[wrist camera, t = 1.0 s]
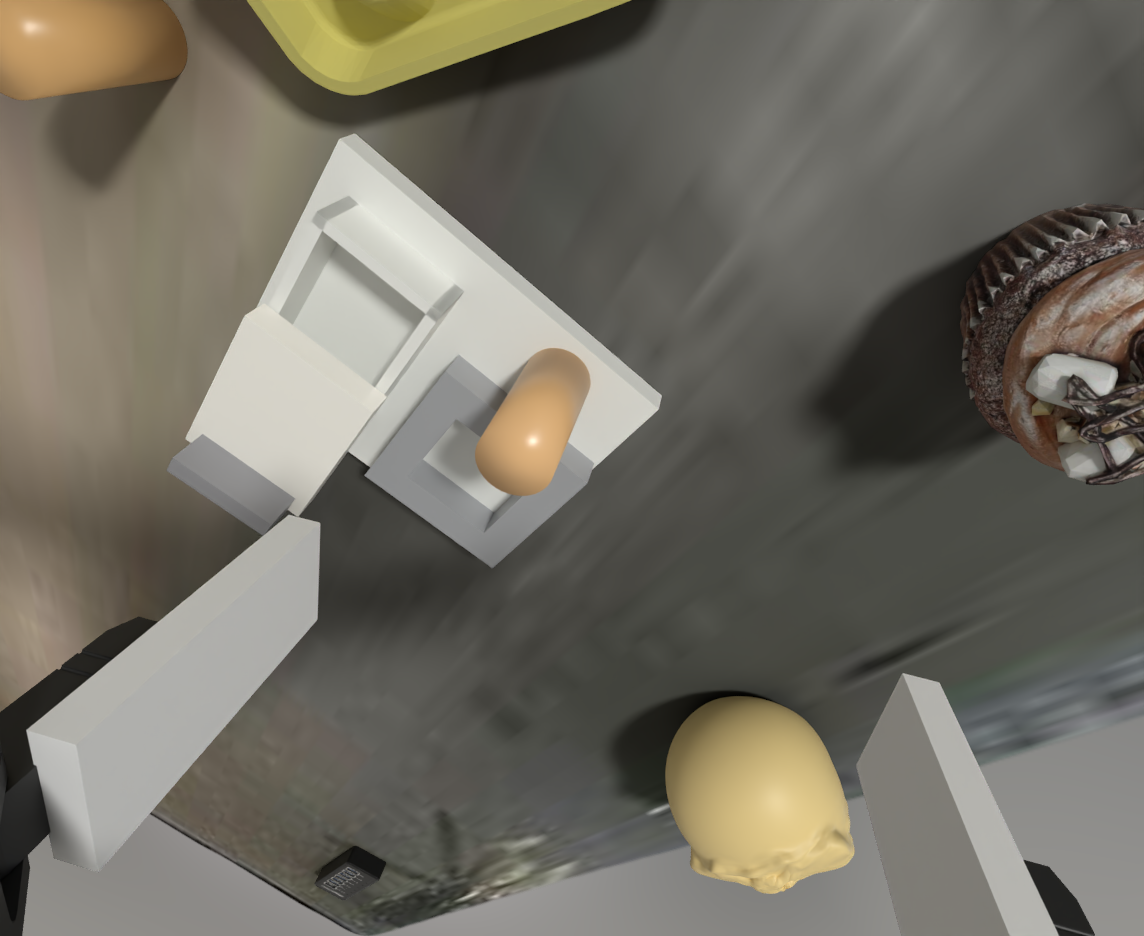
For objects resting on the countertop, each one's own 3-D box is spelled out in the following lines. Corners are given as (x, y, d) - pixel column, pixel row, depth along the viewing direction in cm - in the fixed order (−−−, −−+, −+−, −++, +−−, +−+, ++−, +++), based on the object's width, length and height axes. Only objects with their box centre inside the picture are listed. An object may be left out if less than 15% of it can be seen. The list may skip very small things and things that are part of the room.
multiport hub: (388, 859, 80) (379, 880, 78) (352, 882, 86) (343, 901, 84) (356, 842, 79) (347, 862, 77) (322, 865, 85) (313, 884, 83)
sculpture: (727, 785, 56) (722, 930, 47) (644, 698, 52) (622, 838, 43) (863, 758, 50) (885, 917, 42) (781, 657, 46) (787, 810, 37)
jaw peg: (126, -31, 31) (-41, -38, 24) (196, 29, 31) (53, 37, 25) (108, 42, 33) (-50, 54, 26) (175, 96, 33) (37, 121, 27)
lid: (264, 303, 34) (212, 335, 30) (387, 397, 35) (350, 437, 32) (203, 424, 39) (154, 462, 36) (312, 500, 41) (274, 543, 38)
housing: (354, 133, 32) (232, 175, 25) (662, 395, 37) (637, 500, 29) (244, 353, 41) (128, 434, 34) (501, 543, 46) (450, 652, 38)
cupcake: (1237, 310, 29) (1425, 432, 21) (1000, 428, 34) (1077, 563, 26) (1136, 125, 26) (1308, 183, 18) (895, 284, 31) (944, 385, 23)
